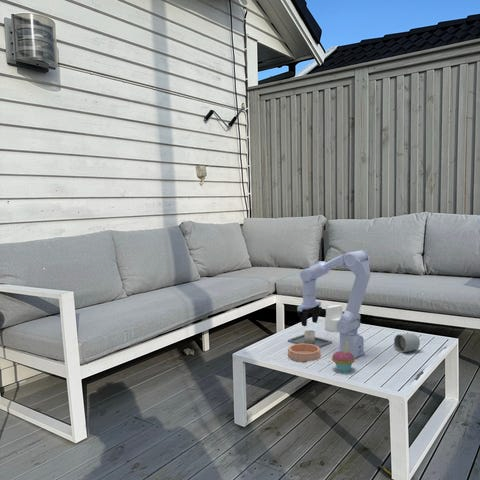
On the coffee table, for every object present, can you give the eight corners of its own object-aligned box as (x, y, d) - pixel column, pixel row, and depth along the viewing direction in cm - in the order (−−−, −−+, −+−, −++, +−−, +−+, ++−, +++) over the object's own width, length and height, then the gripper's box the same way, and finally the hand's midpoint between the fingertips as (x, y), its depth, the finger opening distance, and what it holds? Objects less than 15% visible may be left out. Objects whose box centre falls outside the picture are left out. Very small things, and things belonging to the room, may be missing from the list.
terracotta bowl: (326, 356, 188) (326, 348, 187) (306, 364, 179) (306, 356, 179) (302, 349, 197) (302, 341, 197) (282, 356, 188) (282, 348, 188)
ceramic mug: (421, 352, 190) (421, 334, 190) (406, 354, 187) (406, 336, 187) (403, 345, 200) (403, 328, 200) (388, 347, 197) (388, 330, 197)
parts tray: (332, 344, 203) (332, 341, 203) (315, 350, 195) (315, 347, 195) (304, 337, 215) (304, 334, 215) (287, 342, 207) (287, 339, 206)
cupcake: (358, 369, 173) (358, 338, 172) (348, 375, 167) (347, 344, 166) (338, 364, 179) (338, 334, 178) (327, 370, 172) (327, 339, 171)
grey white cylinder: (334, 333, 220) (334, 309, 219) (321, 329, 227) (321, 305, 226) (347, 330, 225) (347, 306, 224) (334, 326, 232) (334, 303, 231)
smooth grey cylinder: (316, 342, 205) (316, 331, 204) (310, 344, 201) (310, 333, 201) (308, 340, 208) (308, 329, 207) (302, 342, 205) (302, 331, 204)
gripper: (312, 291, 211) (312, 319, 212) (292, 295, 201) (292, 325, 202) (324, 293, 205) (324, 322, 207) (304, 298, 196) (304, 328, 197)
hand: (309, 324), depth 204 cm, fingers open, 7 cm apart
